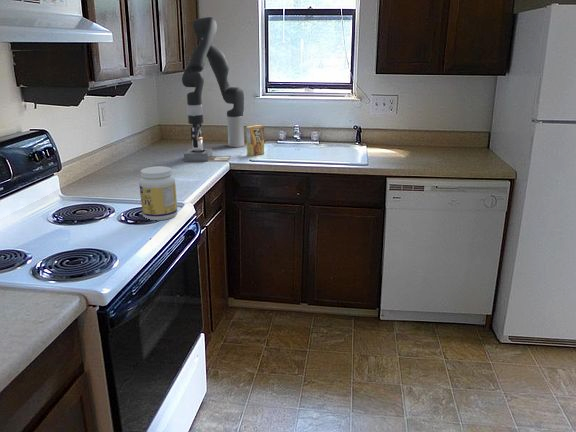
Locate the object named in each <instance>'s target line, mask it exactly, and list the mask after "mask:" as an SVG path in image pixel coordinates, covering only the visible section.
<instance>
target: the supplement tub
mask: <svg viewBox="0 0 576 432" xmlns="http://www.w3.org/2000/svg"><path fill="white" fill-rule="evenodd" d="M172 171H173V170H172V168H171V167H169V166H162V165H160V166H159V165H158V166H149V167H144V168H142V169H140V176H141V178H140V179H139V181H138V185H139V192H140V204H141V212H142V213H141V214H142V216H143V218H144V217H145V219H146V218H147V219H146V220H148V219H150V220H149V221H155V220H157V221H166V220H170V219H172V218H175V217H176V216H177V214H178V212H179V211H178V201H177V188H176V179H175V177H174V176H173V175H172V174H173V172H172Z"/></svg>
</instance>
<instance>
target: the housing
mask: <svg viewBox="0 0 576 432" xmlns="http://www.w3.org/2000/svg"><path fill="white" fill-rule="evenodd" d="M212 156H213V149H212V148H203V152H193V148H188V150H186V151H185V152H184V153H183V159H184V160H183V161H209V160H210V158H211V157H212Z"/></svg>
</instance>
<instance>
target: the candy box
mask: <svg viewBox="0 0 576 432" xmlns="http://www.w3.org/2000/svg"><path fill="white" fill-rule="evenodd" d="M245 129H246V155H247V156H251V157H253V156H259V155H263V154H264V155H265V126H264V125H262V124H258V125H250V126H249V125H248V126H246V128H245Z"/></svg>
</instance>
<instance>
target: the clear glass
mask: <svg viewBox="0 0 576 432" xmlns="http://www.w3.org/2000/svg"><path fill="white" fill-rule="evenodd" d="M203 138H204V137H203V136H201V137H198V147H197V148H194V147H193V146H192V149H193V152H203V149H204V147H203V146H204V144H203V143H204V142H203V140H204V139H203ZM191 141H192V143H193V140H191Z"/></svg>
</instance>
